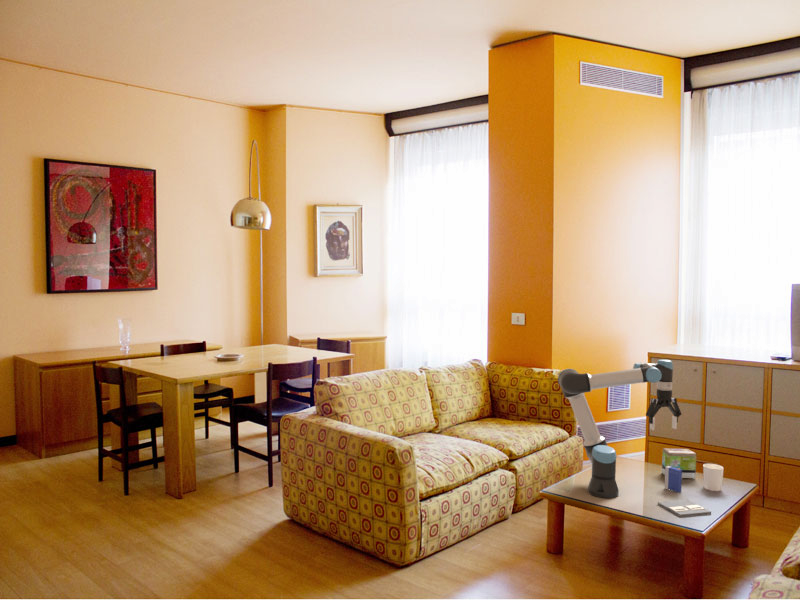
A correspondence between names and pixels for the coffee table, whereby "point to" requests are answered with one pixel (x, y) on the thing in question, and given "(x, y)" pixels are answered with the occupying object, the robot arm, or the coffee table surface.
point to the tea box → (680, 461)
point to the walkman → (673, 478)
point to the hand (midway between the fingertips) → (663, 429)
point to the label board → (684, 508)
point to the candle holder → (712, 477)
